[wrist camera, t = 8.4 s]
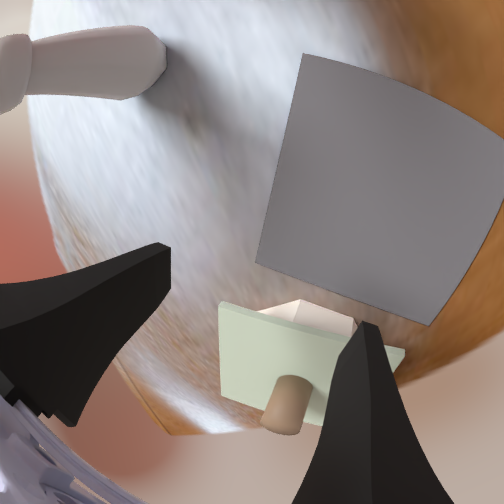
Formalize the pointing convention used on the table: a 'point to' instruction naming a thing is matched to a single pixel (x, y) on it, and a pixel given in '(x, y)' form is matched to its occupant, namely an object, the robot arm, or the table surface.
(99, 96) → the salt shaker
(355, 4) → the table surface
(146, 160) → the table surface
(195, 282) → the table surface
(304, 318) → the bowl
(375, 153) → the mat
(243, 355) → the cover
